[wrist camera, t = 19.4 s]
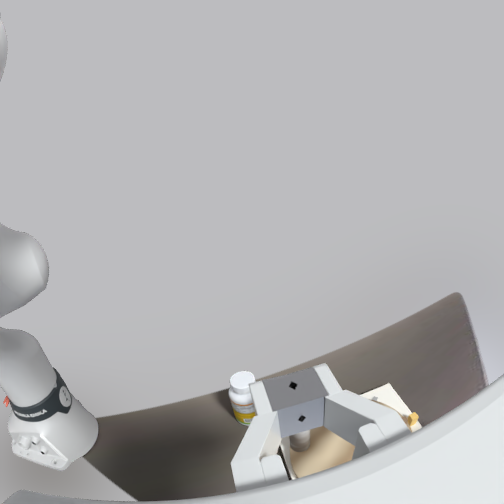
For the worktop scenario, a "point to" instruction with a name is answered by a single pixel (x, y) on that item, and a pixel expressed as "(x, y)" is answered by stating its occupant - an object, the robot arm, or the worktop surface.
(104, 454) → the worktop surface
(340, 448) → the dial
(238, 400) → the supplement bottle
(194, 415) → the worktop surface
